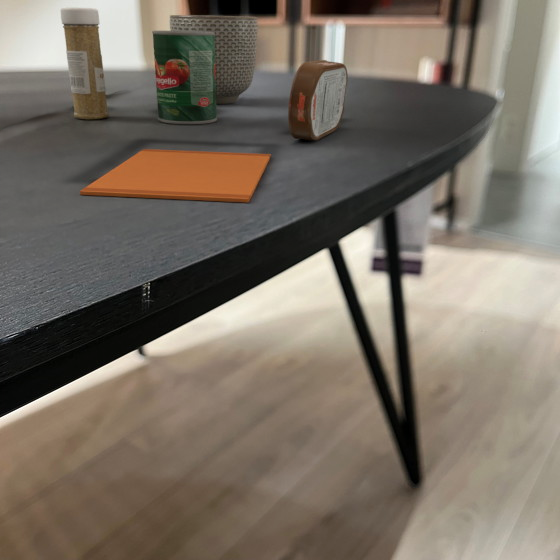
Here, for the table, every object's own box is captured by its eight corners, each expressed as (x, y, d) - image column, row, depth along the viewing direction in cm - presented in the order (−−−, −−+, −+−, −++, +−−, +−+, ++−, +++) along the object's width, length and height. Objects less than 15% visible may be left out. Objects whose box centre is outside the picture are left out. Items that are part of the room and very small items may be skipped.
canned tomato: (226, 117, 80) (224, 32, 75) (202, 126, 73) (198, 32, 68) (174, 114, 82) (170, 30, 77) (146, 122, 75) (140, 30, 70)
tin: (325, 125, 76) (328, 57, 72) (348, 127, 75) (352, 58, 71) (284, 145, 63) (286, 63, 59) (311, 148, 62) (315, 65, 58)
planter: (161, 104, 90) (155, 14, 85) (189, 95, 103) (185, 15, 97) (246, 109, 88) (246, 16, 83) (264, 98, 101) (265, 17, 95)
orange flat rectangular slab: (80, 194, 44) (79, 190, 43) (143, 151, 58) (143, 148, 58) (248, 202, 43) (248, 198, 42) (270, 157, 57) (270, 153, 57)
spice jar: (115, 118, 77) (104, 8, 72) (84, 121, 74) (70, 7, 69) (98, 114, 80) (86, 8, 75) (67, 117, 77) (53, 7, 72)
